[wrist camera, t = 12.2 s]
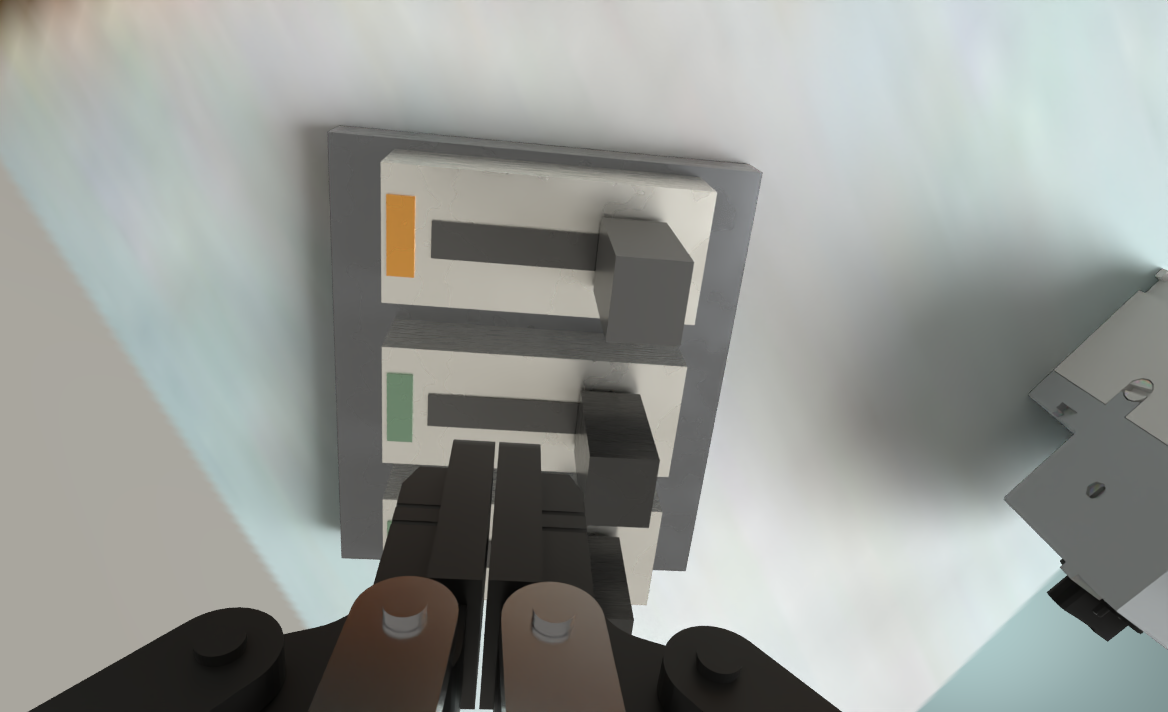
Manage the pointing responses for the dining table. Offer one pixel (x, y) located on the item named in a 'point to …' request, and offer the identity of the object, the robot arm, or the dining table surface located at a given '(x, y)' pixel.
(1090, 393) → the circuit breaker
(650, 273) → the block
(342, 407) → the breaker panel
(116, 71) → the dining table surface
